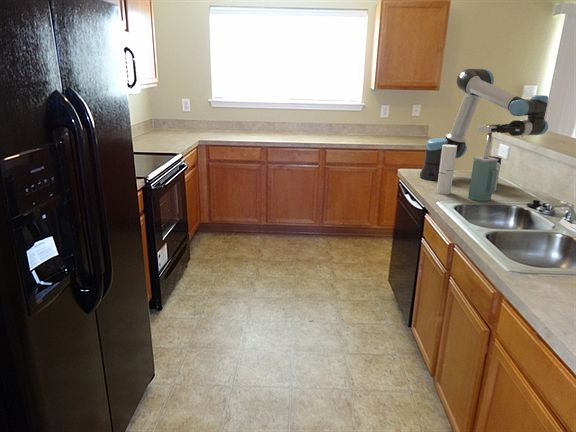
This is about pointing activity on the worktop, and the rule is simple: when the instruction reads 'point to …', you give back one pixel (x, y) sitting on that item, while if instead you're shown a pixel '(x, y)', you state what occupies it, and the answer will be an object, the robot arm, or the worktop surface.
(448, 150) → the cylindrical container
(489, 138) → the plunger
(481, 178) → the press pot
